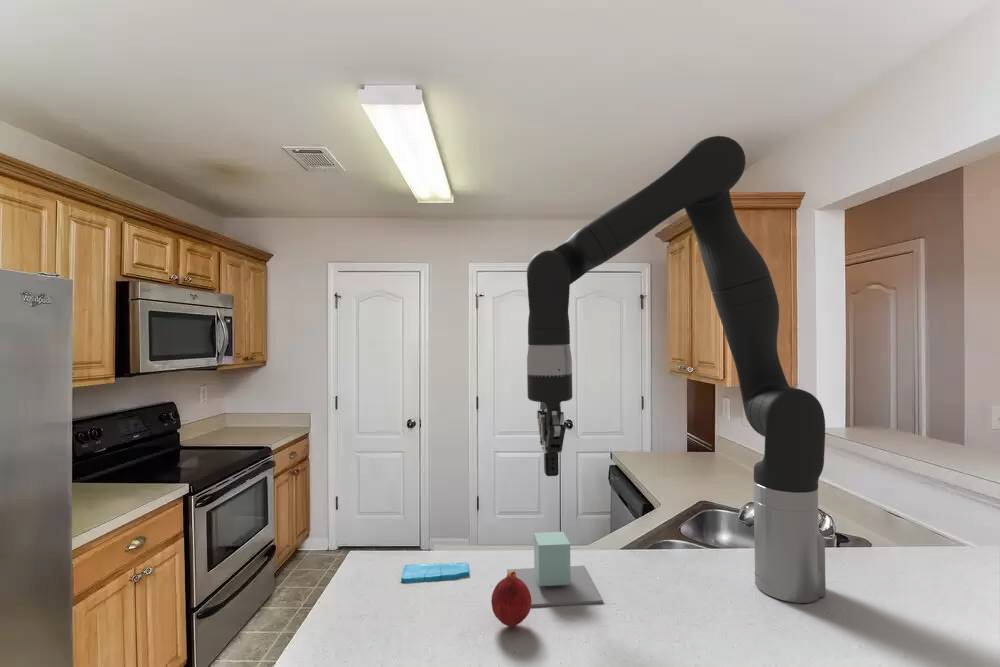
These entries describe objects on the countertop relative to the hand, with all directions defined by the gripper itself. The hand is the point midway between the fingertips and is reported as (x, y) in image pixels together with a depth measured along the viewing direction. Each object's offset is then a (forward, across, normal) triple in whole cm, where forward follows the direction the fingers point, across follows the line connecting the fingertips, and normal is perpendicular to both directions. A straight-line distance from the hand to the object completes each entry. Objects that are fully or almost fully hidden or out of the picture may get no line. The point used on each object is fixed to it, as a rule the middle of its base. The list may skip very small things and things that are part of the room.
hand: (551, 474), depth 85 cm
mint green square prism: (+17, 0, 0) cm, 17 cm away
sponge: (+19, +6, +20) cm, 28 cm away
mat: (+19, 0, 0) cm, 19 cm away
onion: (+19, -11, +8) cm, 23 cm away
